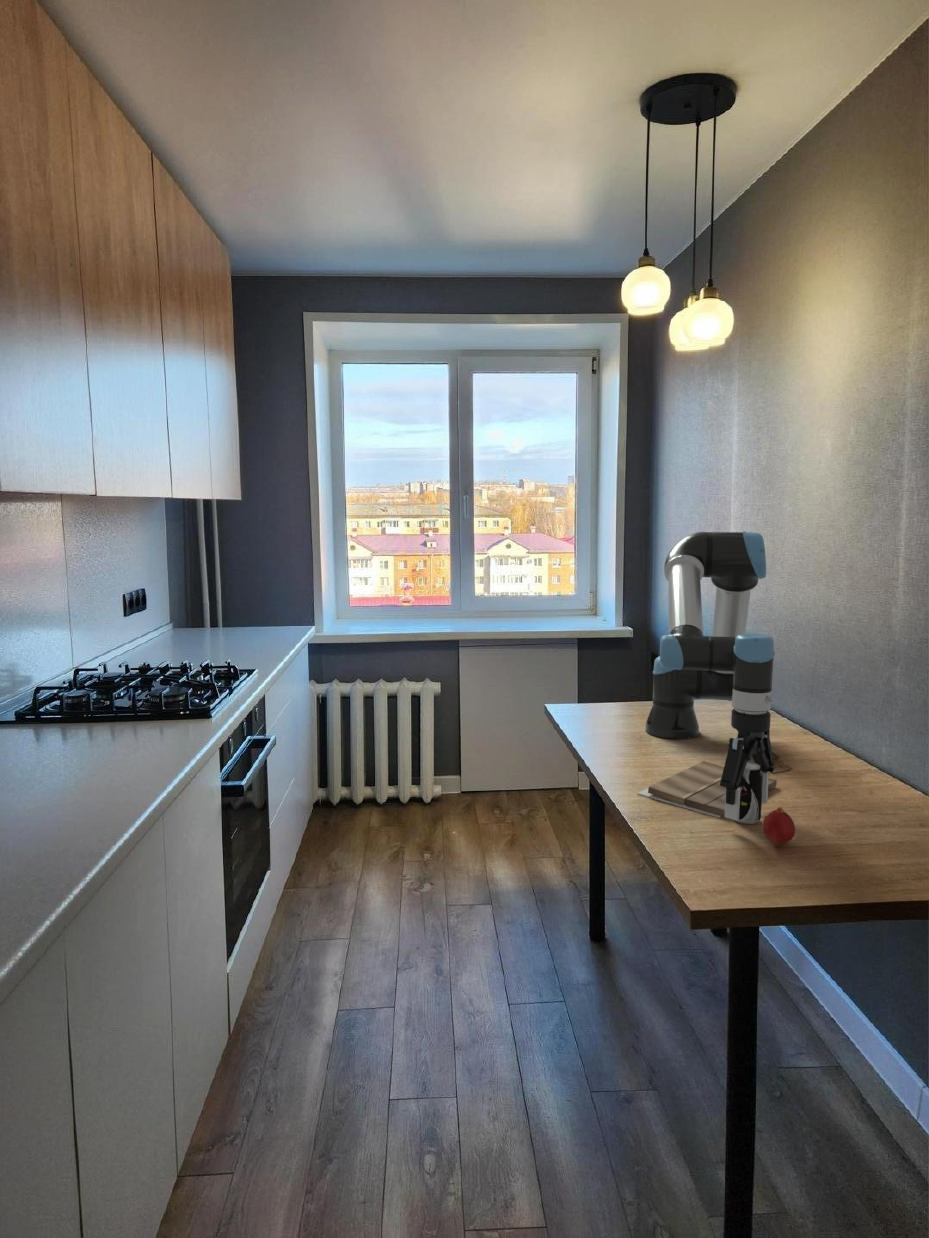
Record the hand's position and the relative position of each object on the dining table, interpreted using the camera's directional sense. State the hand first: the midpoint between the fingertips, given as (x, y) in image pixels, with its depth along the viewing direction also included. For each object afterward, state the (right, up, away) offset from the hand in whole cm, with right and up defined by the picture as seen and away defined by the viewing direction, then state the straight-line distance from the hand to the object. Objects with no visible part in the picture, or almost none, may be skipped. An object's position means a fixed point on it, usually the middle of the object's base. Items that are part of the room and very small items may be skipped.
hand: (746, 809), depth 161 cm
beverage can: (0, -2, 0) cm, 3 cm away
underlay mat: (-3, 0, +18) cm, 18 cm away
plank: (-5, +1, +20) cm, 21 cm away
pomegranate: (+1, -4, -12) cm, 13 cm away
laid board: (+2, 0, +14) cm, 14 cm away
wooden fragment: (+19, +3, +42) cm, 46 cm away
